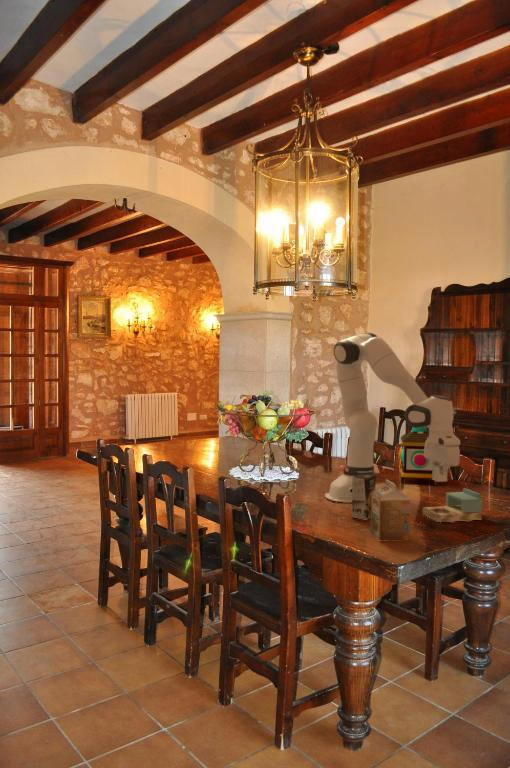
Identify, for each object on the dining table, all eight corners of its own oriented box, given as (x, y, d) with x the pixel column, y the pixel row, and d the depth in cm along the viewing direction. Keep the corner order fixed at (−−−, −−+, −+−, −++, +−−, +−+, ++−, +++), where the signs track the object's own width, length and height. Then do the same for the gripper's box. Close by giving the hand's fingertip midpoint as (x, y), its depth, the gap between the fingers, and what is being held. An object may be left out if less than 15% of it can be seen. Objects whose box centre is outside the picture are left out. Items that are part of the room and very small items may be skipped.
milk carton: (409, 540, 206) (410, 485, 205) (379, 541, 206) (380, 485, 205) (399, 531, 217) (400, 478, 216) (370, 532, 216) (371, 479, 215)
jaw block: (437, 481, 231) (437, 466, 231) (432, 479, 235) (432, 464, 235) (447, 481, 232) (447, 465, 232) (441, 478, 236) (441, 463, 235)
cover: (462, 512, 230) (463, 495, 229) (445, 505, 241) (446, 488, 241) (481, 511, 232) (482, 494, 231) (464, 503, 243) (464, 487, 243)
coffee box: (367, 521, 230) (367, 478, 229) (351, 518, 234) (351, 476, 233) (375, 515, 238) (376, 474, 237) (360, 513, 241) (360, 473, 241)
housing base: (438, 523, 228) (438, 515, 227) (422, 514, 239) (422, 507, 239) (481, 520, 232) (481, 512, 232) (463, 512, 243) (464, 504, 243)
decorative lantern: (441, 486, 291) (442, 423, 289) (398, 484, 294) (399, 422, 293) (436, 477, 310) (437, 419, 309) (396, 476, 314) (397, 418, 312)
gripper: (420, 434, 242) (420, 469, 243) (447, 442, 222) (447, 479, 223) (434, 434, 243) (434, 468, 244) (462, 441, 223) (462, 478, 224)
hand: (440, 473), depth 233 cm, fingers closed on jaw block, 4 cm apart
